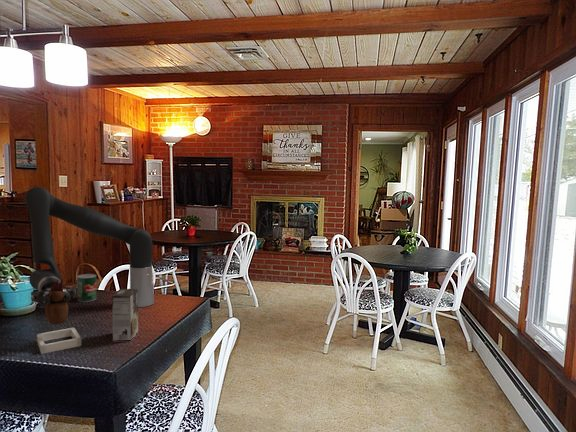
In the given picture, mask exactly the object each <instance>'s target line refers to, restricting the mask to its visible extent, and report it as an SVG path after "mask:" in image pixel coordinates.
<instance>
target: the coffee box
mask: <svg viewBox="0 0 576 432" xmlns="http://www.w3.org/2000/svg"><path fill="white" fill-rule="evenodd" d="M111 303H112V305H111V307H112V308H111V309H112V342H115V341H114V340H131V339H132V338H133V337H134V338H135V337H136V335H137V334H138V333H139V307H138V291H137V289H130V288H119V290H117V291H116V292H115V293H114V294H113V295H112V296H111ZM136 333H137V334H136ZM134 338H133V339H134ZM133 339H132V340H133ZM132 340H131V341H132Z"/></svg>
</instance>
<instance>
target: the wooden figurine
mask: <svg viewBox="0 0 576 432" xmlns="http://www.w3.org/2000/svg"><path fill="white" fill-rule="evenodd" d="M63 285H64V279H63V278H61V283H60V286H59V282H58V280H57V284H55V283H54V287H53V285H52V286H51V291H50V292H49V297H50V304H49V305H47V304H45V305H46V306H45V310H44V314H45V318H46V320H47V322H48V323H50V324H51V325H61V324H64V323H65V322H66V321H67V319H68V314H69V305H68V302H66V301H65V300H64V298H65V293H64V291H63Z"/></svg>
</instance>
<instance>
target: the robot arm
mask: <svg viewBox="0 0 576 432" xmlns="http://www.w3.org/2000/svg"><path fill="white" fill-rule="evenodd" d="M24 202H25V204H26V206H27V210H28V213H29V218H30V225H31V242H32V243H31V244H32V245H31V247H32V258H33V262H34V263H35V264H39V265H46V266H48V268H46V269H36V270H34V271H32V272H31V273H30V275H29V279H28V282H29V284H30V287H32V288H33V289H35V290H37V291H31V292H30V300H32V301H33V302H35V303H38V304H40V303H41V302H42V303H44V304H45V305H49V304H50V297H49V292H50V291H51V286H52V285H53V287H54V283H55V284H57V280H58V282H59V286H60V283H61V280H62V275H61V272H60V270H59V268H58V266H57V262H56V260H55V252H54V242H53V241H54V240H53V237H52V230H51V224H50V216H51V217H53V218H57V219H60V220H62V221H63V222H66V223H68V224H70V225H72V226H74V227H76V228H79V229H82V230H84V231H86V232H89V233H91V234H94V235H98V236H102V237H106V238H107V237H108V238H112V239H116V240H119V241H121V242H123V243H125V244H127V245H129V289H137V291H138V308H144V307H150V306H151V305H155V285H154V282H153V238H152V236H151V235H152V234H150V232H149V231H147V230H146V229H143V228H140V227H135V226H132V225H129V224H125V223H124V222H121V221H119V220H117V219H115V218H113V217H111V216H109V215H107V214H105V213H103V212H101V211H98V210H95V209H93V208H91V207H86V206H82V205H79V204H74V203H69V202H66V201H64V200H62V199H60V198H58V197H55V196H54V195H52V193H50V191H49V190H48V189H46V188H45V187H43V186H34V187H32V188H29V189H28V190H27V191H26V193H25V195H24ZM76 290H77V286H72V287H70V288H67V287H65V285H64V284H63V291H64V293H65V298H64V300H63V301H66V302H67V303H68V302H69V301H70V300H71V299H74V298H75V297H76Z"/></svg>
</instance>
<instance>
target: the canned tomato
mask: <svg viewBox="0 0 576 432" xmlns="http://www.w3.org/2000/svg"><path fill="white" fill-rule="evenodd" d="M76 278H77V280H76V281H77V283H76V290H77V302H80V303H87V302H92V301H95V300H97V274H95V273H84V274H78V275H77V276H76Z"/></svg>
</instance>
